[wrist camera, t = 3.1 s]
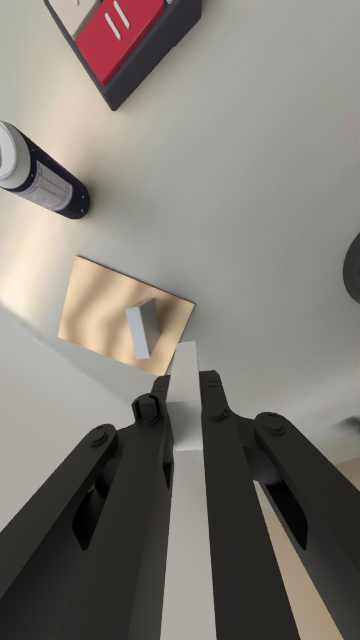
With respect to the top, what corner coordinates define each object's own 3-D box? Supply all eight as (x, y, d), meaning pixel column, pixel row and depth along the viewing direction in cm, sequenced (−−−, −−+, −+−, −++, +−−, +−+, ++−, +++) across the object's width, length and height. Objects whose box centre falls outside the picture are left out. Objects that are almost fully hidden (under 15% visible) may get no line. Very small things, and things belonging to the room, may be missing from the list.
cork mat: (194, 304, 30) (194, 304, 30) (163, 376, 34) (162, 377, 34) (77, 255, 29) (74, 255, 29) (60, 335, 34) (57, 336, 33)
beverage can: (92, 182, 26) (15, 110, 15) (93, 222, 28) (23, 186, 16) (57, 178, 27) (-47, 105, 15) (60, 219, 28) (-33, 180, 16)
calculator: (34, -13, 19) (134, -187, 15) (64, 37, 23) (148, -89, 19) (100, 89, 21) (203, -42, 17) (116, 118, 25) (202, 18, 21)
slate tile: (154, 297, 30) (139, 307, 21) (161, 334, 32) (149, 357, 23) (144, 298, 30) (125, 308, 21) (151, 335, 32) (136, 359, 23)
